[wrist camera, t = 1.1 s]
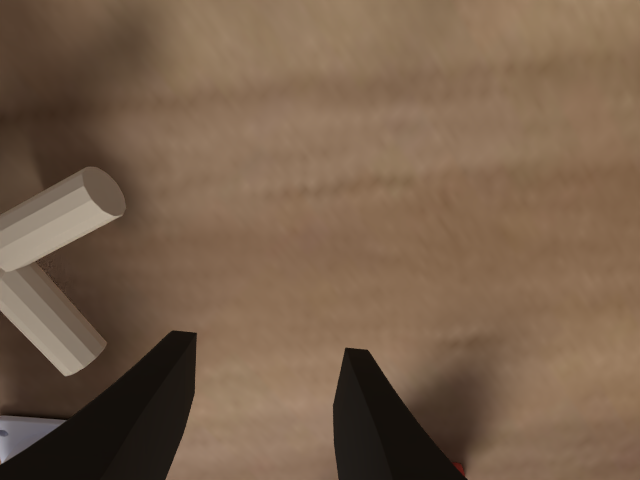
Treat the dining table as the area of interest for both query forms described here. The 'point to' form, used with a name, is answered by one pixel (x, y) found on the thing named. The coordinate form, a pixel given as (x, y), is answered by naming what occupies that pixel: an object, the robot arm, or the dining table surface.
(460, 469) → the colourful wooden stacking toy
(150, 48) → the dining table surface
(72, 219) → the pipe connector
